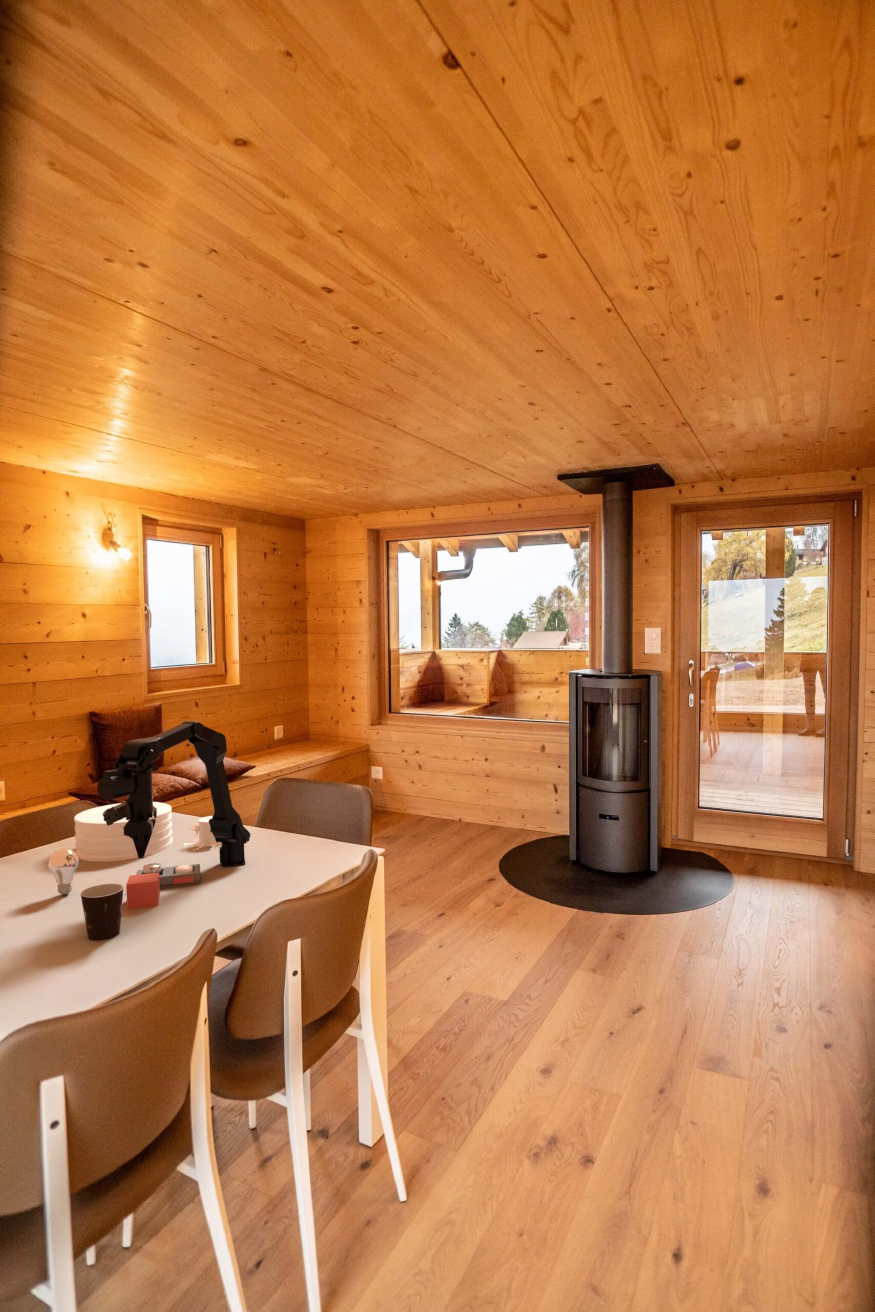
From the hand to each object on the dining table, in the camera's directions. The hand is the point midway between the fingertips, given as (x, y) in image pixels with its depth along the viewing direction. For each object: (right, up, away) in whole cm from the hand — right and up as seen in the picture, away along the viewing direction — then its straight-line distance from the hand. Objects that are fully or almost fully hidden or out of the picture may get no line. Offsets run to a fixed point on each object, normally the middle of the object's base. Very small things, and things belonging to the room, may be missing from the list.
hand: (142, 854), depth 181 cm
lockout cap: (0, -12, 0) cm, 12 cm away
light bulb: (-23, -13, +7) cm, 27 cm away
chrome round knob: (-3, -9, +13) cm, 16 cm away
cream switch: (+5, -10, +16) cm, 19 cm away
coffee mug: (-1, -13, -21) cm, 24 cm away
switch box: (+1, -12, +15) cm, 19 cm away
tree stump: (+1, -11, +52) cm, 53 cm away
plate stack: (-25, -12, +49) cm, 56 cm away
